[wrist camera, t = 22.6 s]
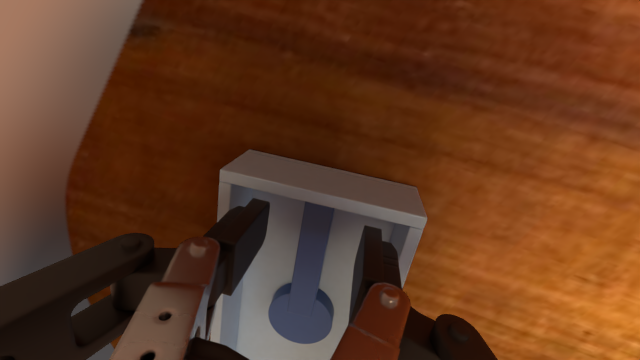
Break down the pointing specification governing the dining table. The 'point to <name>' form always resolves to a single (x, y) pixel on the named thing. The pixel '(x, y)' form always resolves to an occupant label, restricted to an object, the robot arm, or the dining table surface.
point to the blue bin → (282, 241)
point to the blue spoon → (306, 283)
